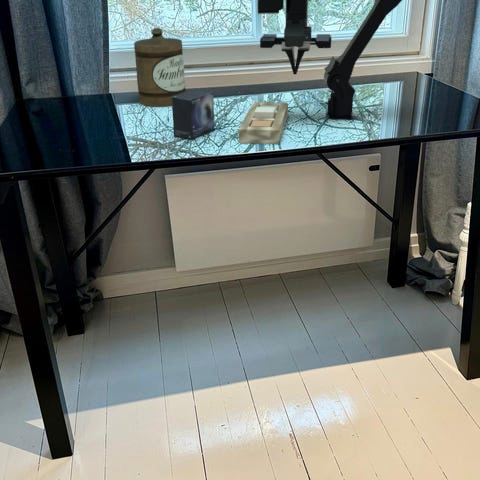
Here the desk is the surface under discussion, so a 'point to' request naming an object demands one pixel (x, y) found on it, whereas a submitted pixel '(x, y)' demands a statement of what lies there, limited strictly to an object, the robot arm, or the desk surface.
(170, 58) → the wooden container
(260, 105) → the key sage
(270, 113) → the key ivory
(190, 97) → the small box
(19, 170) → the desk surface
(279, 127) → the keypad housing
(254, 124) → the key terracotta
